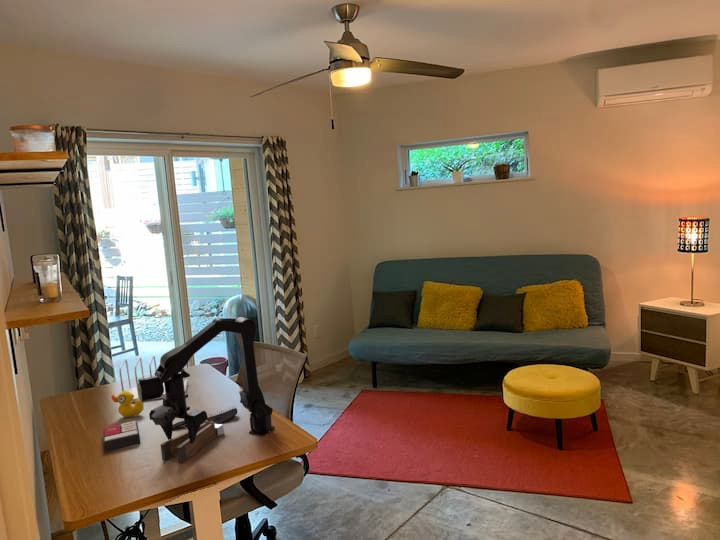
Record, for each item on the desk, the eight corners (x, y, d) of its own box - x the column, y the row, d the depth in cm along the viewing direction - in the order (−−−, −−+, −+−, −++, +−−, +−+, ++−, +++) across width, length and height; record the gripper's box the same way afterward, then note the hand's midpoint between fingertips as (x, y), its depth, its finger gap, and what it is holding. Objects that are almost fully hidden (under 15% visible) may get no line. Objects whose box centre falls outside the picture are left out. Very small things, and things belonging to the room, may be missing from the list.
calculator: (136, 419, 190) (139, 432, 176) (138, 430, 190) (140, 444, 177) (103, 426, 185) (102, 440, 172) (104, 438, 186) (104, 453, 172)
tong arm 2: (216, 436, 177) (214, 421, 177) (181, 463, 160) (179, 446, 159) (212, 436, 178) (210, 420, 177) (178, 463, 160) (175, 445, 159)
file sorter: (188, 383, 239) (184, 349, 237) (185, 395, 222) (181, 359, 220) (128, 391, 232) (124, 357, 230) (121, 405, 216) (116, 368, 214)
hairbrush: (165, 419, 190) (235, 403, 198) (167, 428, 191) (237, 412, 199) (165, 428, 183) (238, 410, 190) (167, 438, 183) (239, 420, 191)
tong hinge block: (224, 433, 180) (223, 424, 180) (218, 437, 177) (217, 428, 177) (213, 432, 182) (212, 423, 182) (207, 435, 179) (207, 426, 179)
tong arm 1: (211, 436, 178) (209, 420, 177) (165, 460, 162) (163, 443, 162) (208, 435, 179) (206, 420, 178) (162, 459, 163) (160, 442, 162)
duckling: (111, 420, 199) (107, 395, 198) (117, 414, 205) (114, 390, 204) (141, 418, 200) (138, 392, 198) (146, 412, 205) (143, 387, 204)
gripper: (132, 399, 160) (138, 448, 161) (179, 405, 152) (185, 457, 154) (160, 387, 170) (165, 433, 171) (205, 392, 162) (211, 440, 164)
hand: (180, 441), depth 165 cm, fingers open, 9 cm apart
